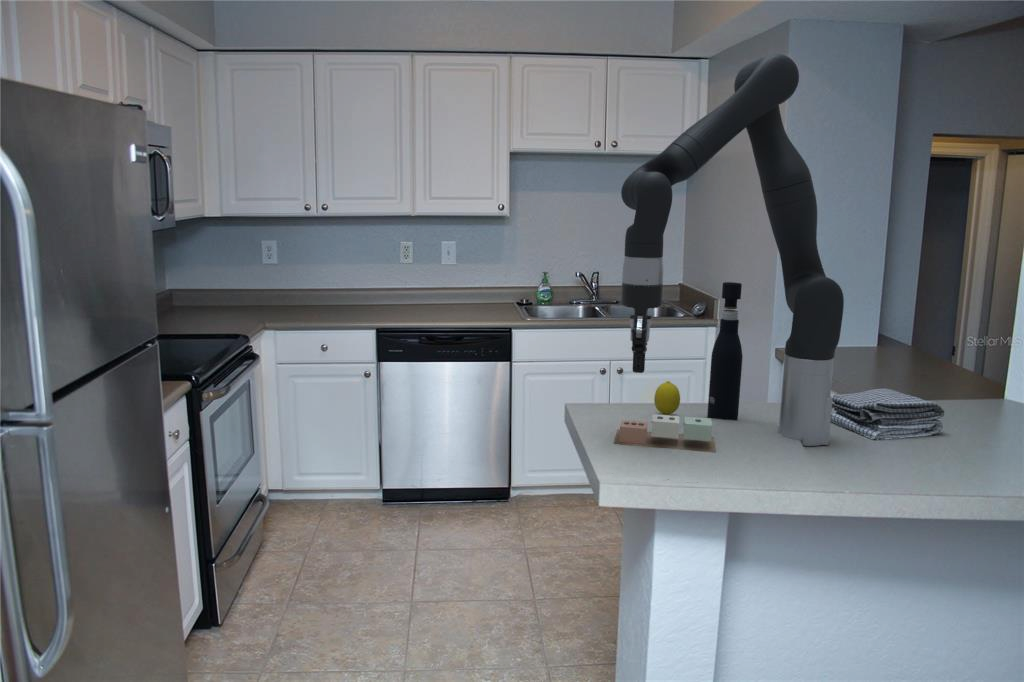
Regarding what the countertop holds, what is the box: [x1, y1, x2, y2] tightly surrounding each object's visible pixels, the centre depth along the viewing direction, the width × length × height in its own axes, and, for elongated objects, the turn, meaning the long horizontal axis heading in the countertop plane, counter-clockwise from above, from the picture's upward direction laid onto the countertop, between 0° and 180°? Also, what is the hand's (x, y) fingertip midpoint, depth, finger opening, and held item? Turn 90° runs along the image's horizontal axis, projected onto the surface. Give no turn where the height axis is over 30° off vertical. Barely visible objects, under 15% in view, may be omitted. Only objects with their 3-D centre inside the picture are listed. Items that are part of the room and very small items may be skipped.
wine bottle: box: [706, 281, 743, 421], centre depth 171 cm, size 6×6×30 cm
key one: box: [683, 416, 713, 441], centre depth 152 cm, size 5×5×3 cm
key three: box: [619, 419, 648, 444], centre depth 154 cm, size 5×5×3 cm
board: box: [612, 428, 717, 453], centre depth 155 cm, size 19×10×1 cm, turn 78°
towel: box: [830, 388, 945, 440], centre depth 171 cm, size 15×18×8 cm
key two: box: [651, 413, 680, 439], centre depth 153 cm, size 5×5×3 cm
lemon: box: [653, 380, 681, 416], centre depth 175 cm, size 6×6×8 cm
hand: (638, 371), depth 152 cm, fingers closed
